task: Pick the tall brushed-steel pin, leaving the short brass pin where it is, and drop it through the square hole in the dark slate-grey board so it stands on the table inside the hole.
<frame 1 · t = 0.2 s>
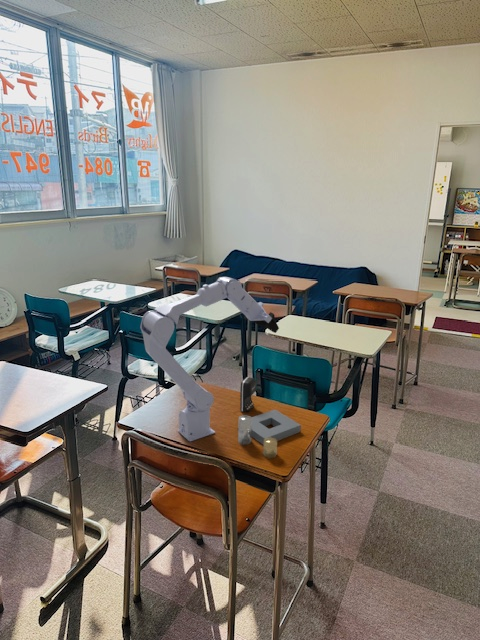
hand: (269, 327, 148), 31 cm above the table, tool tilted 45°, fingers open, 7 cm apart
battery charger: (248, 409, 158), on the table
long pin: (244, 441, 137), on the table
hole board: (269, 429, 144), on the table
short pin: (269, 454, 130), on the table
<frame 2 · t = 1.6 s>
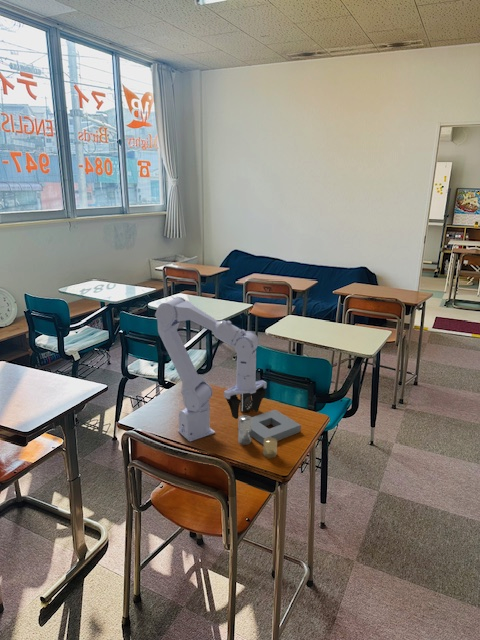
hand: (245, 414, 134), 9 cm above the table, tool pointing down, fingers open, 7 cm apart
nothing on the table moved.
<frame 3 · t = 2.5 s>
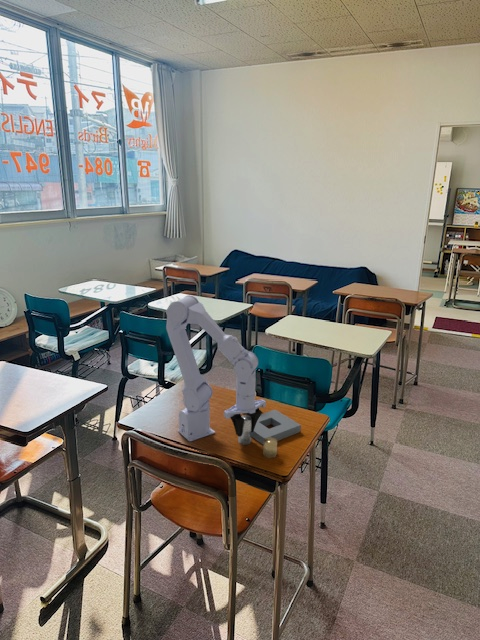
hand: (244, 432, 136), 3 cm above the table, tool pointing down, fingers closed on long pin, 4 cm apart
long pin: (244, 441, 137), on the table, touching gripper
everything else where it was.
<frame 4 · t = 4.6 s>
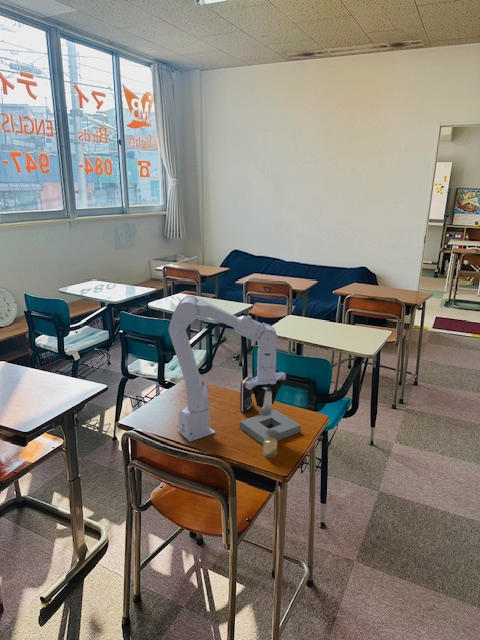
hand: (265, 404, 139), 10 cm above the table, tool pointing down, fingers closed on long pin, 4 cm apart
long pin: (265, 412, 140), point 7 cm above the table, touching gripper
everything else where it was.
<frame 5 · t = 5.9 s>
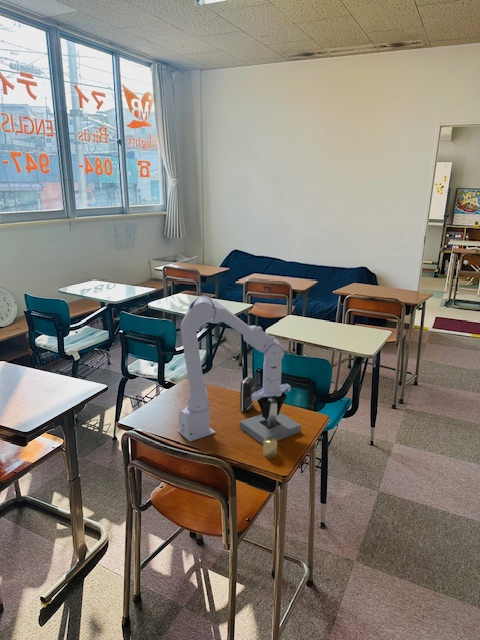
hand: (270, 415, 143), 5 cm above the table, tool pointing down, fingers closed on long pin, 4 cm apart
long pin: (270, 423, 143), point 2 cm above the table, touching gripper
everything else where it was.
when the fingers open (4 cm above the table, at t = 6.7 s): long pin drops 1 cm, resting in hole board.
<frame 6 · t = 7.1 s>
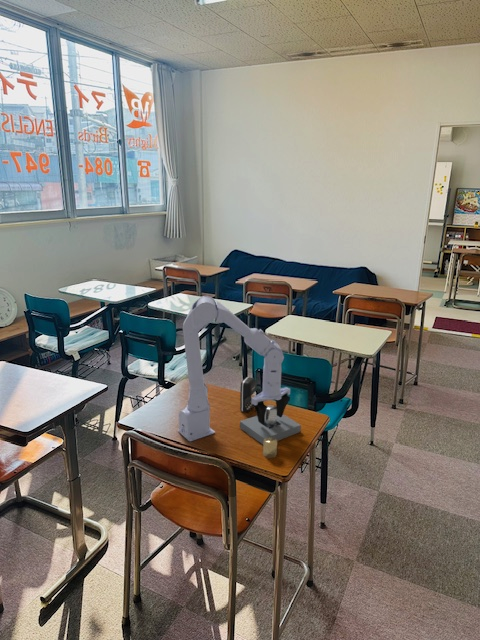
hand: (270, 419, 143), 4 cm above the table, tool pointing down, fingers open, 7 cm apart
long pin: (270, 430, 144), resting in hole board
everything else where it was.
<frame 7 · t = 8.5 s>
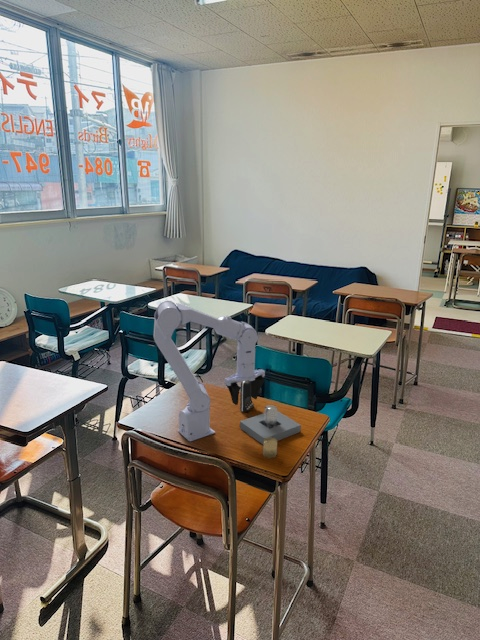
hand: (244, 400, 143), 9 cm above the table, tool pointing down, fingers open, 7 cm apart
nothing on the table moved.
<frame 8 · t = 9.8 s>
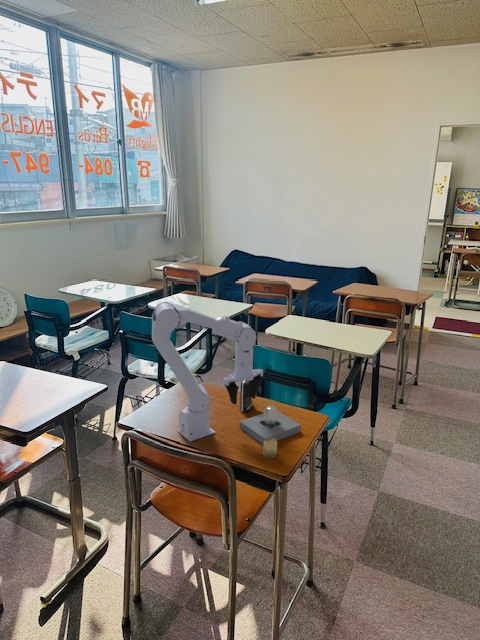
hand: (243, 400, 143), 9 cm above the table, tool pointing down, fingers open, 7 cm apart
nothing on the table moved.
at the end: long pin 0.1 cm off-centre on the hole board, point 0.0 cm above the hole board's base; long pin tilted 0°; short pin moved 0.1 cm from its start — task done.
